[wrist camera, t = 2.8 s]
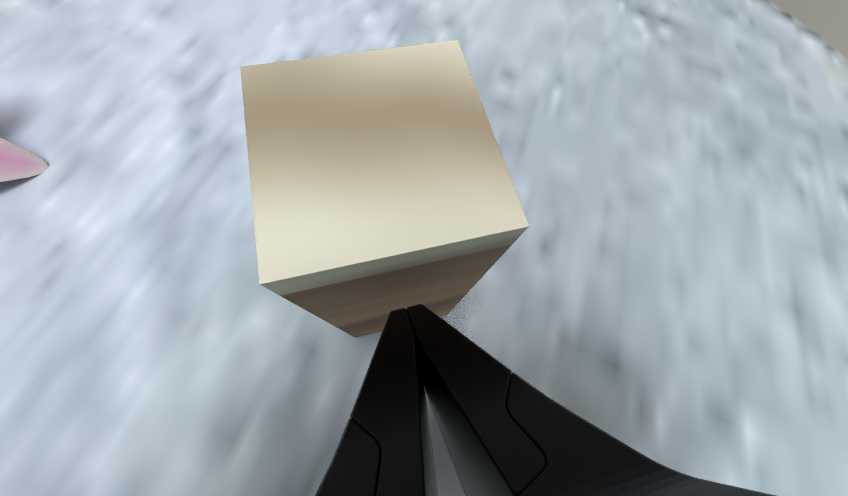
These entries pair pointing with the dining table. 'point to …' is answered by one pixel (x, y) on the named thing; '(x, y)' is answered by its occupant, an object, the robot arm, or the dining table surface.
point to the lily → (18, 162)
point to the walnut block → (375, 182)
